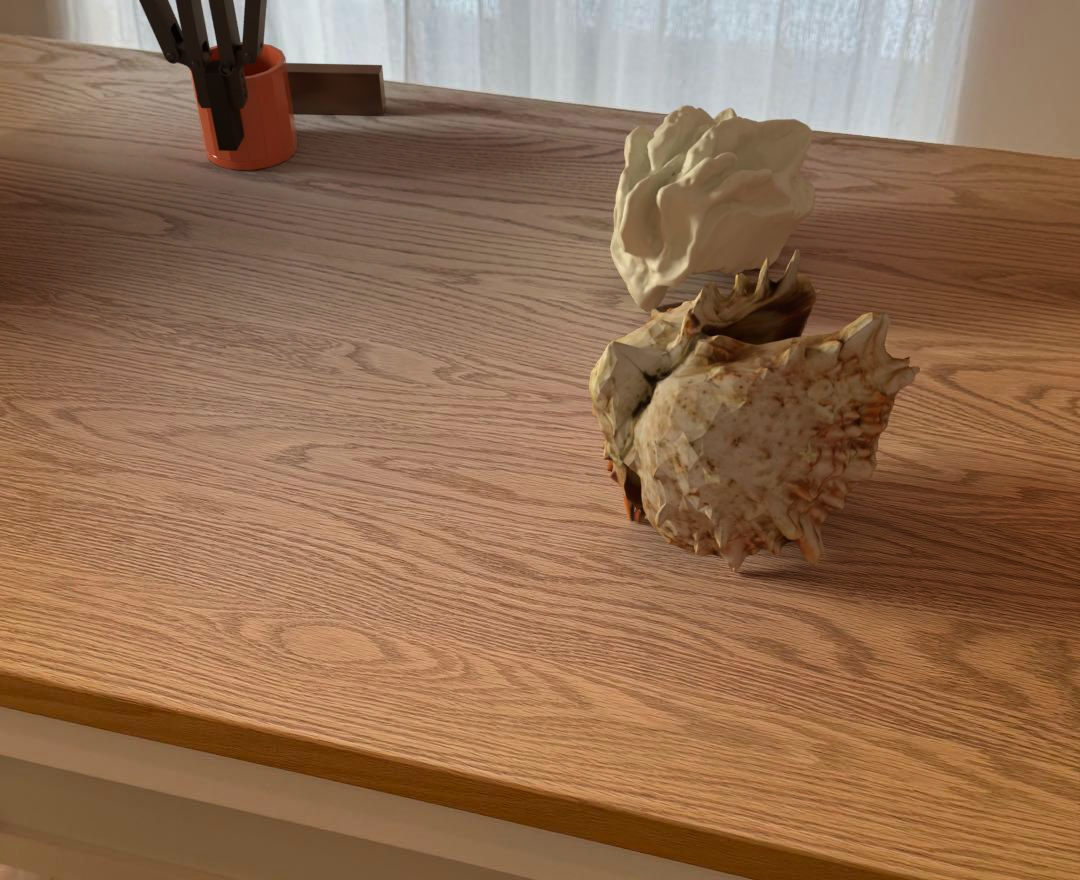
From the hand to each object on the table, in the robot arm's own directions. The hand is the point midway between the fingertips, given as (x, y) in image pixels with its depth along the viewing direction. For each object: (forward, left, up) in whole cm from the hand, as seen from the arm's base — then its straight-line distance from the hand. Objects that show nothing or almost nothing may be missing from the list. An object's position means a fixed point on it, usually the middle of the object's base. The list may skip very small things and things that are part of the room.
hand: (231, 143), depth 105 cm
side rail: (+4, +14, -3) cm, 15 cm away
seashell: (+40, -41, -3) cm, 57 cm away
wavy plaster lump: (+39, -12, -3) cm, 41 cm away
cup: (0, +5, -3) cm, 6 cm away
